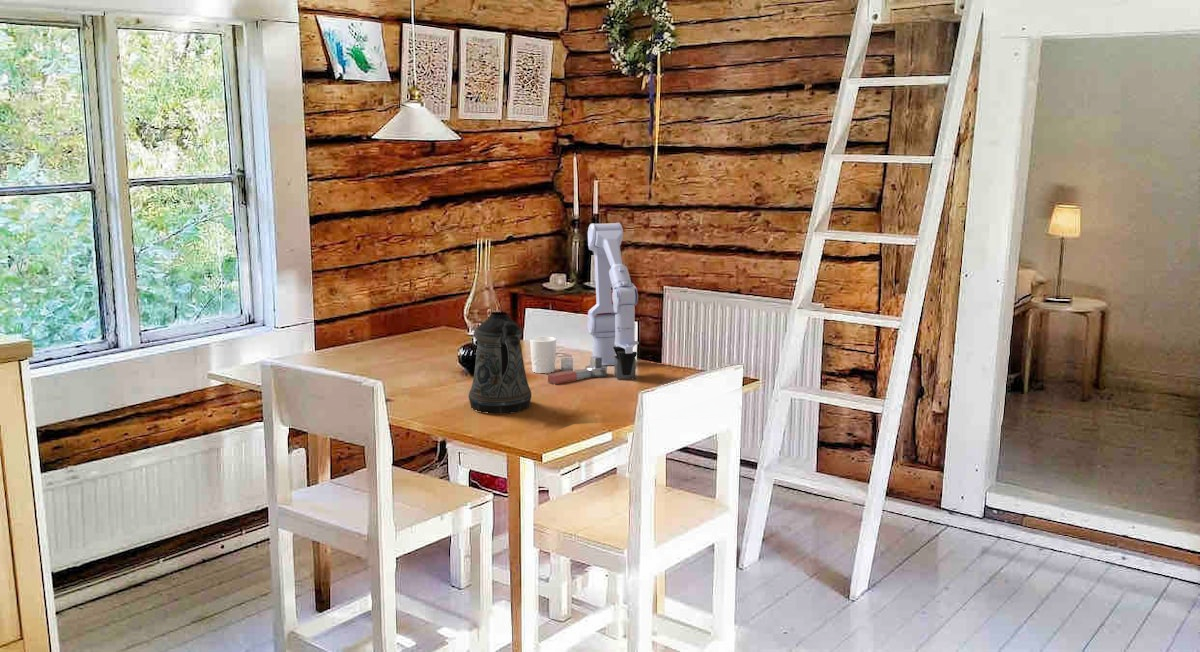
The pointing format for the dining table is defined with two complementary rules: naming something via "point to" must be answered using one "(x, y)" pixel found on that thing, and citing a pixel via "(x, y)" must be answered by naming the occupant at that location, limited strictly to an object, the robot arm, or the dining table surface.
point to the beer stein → (499, 367)
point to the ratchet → (580, 372)
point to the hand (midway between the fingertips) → (624, 372)
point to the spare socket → (566, 364)
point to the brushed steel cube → (618, 369)
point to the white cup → (543, 354)
